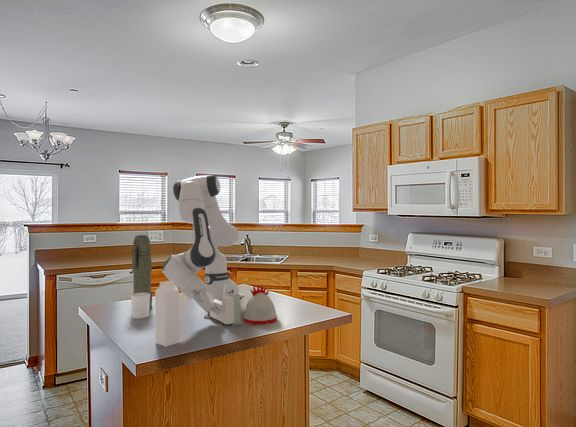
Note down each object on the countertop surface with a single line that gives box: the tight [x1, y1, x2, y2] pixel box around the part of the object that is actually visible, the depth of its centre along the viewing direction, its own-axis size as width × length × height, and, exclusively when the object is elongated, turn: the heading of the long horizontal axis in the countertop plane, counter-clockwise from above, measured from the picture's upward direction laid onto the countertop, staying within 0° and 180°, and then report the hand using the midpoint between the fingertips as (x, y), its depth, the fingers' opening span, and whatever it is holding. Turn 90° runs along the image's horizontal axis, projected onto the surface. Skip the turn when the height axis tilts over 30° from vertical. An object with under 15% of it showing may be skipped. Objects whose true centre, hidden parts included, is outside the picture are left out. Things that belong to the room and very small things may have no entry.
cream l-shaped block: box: [210, 296, 234, 325], centre depth 171 cm, size 16×4×10 cm, turn 37°
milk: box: [154, 280, 181, 348], centre depth 145 cm, size 6×6×22 cm
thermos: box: [131, 234, 153, 309], centre depth 198 cm, size 9×12×35 cm
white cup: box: [130, 293, 151, 320], centre depth 181 cm, size 8×8×10 cm
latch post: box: [228, 294, 245, 327], centre depth 168 cm, size 5×5×12 cm
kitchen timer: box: [243, 284, 278, 326], centre depth 174 cm, size 14×14×15 cm
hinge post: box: [203, 311, 215, 320], centre depth 179 cm, size 6×6×8 cm
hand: (218, 312), depth 166 cm, fingers closed
